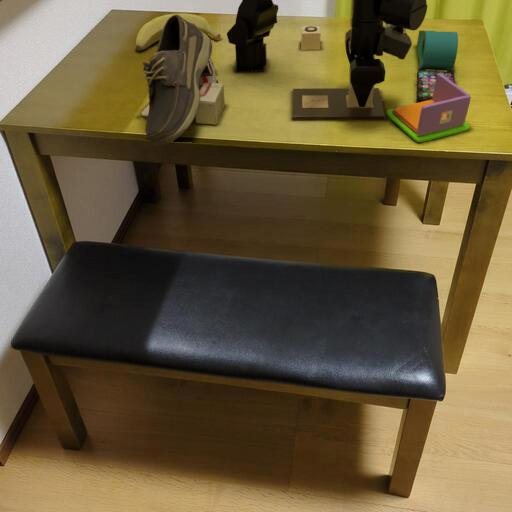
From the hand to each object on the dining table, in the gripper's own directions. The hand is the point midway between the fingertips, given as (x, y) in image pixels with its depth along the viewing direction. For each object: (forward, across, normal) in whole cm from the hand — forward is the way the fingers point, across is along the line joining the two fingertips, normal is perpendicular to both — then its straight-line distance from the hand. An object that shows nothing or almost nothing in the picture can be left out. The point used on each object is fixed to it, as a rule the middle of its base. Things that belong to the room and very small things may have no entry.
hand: (360, 95), depth 117 cm
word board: (+2, 0, +4) cm, 5 cm away
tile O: (+2, +30, +10) cm, 32 cm away
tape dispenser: (+2, +21, -18) cm, 28 cm away
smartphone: (+2, +7, -16) cm, 18 cm away
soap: (+3, -1, +41) cm, 41 cm away
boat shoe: (-2, -4, +34) cm, 35 cm away
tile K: (+1, 0, 0) cm, 1 cm away
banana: (+2, +33, +42) cm, 54 cm away
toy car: (+2, +11, +34) cm, 36 cm away
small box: (0, 0, +30) cm, 30 cm away
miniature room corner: (+2, -7, -12) cm, 14 cm away
